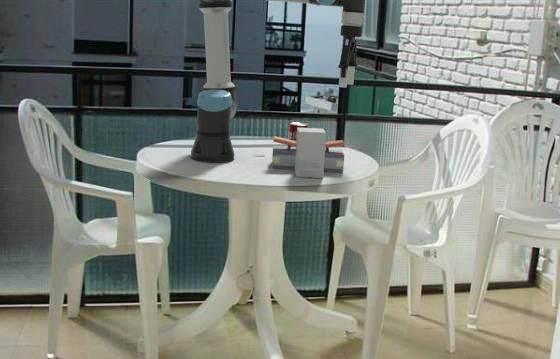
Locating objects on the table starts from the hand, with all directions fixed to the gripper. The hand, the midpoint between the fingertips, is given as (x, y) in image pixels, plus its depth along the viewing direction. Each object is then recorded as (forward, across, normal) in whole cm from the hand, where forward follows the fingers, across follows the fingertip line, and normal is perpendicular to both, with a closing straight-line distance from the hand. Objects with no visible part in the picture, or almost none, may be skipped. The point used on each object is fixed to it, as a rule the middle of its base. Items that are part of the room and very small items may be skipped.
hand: (346, 85), depth 246 cm
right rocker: (+19, -18, +1) cm, 26 cm away
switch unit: (+27, -19, +8) cm, 34 cm away
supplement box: (+28, -30, +4) cm, 41 cm away
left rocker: (+19, -21, +14) cm, 32 cm away
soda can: (+28, -2, +16) cm, 32 cm away
